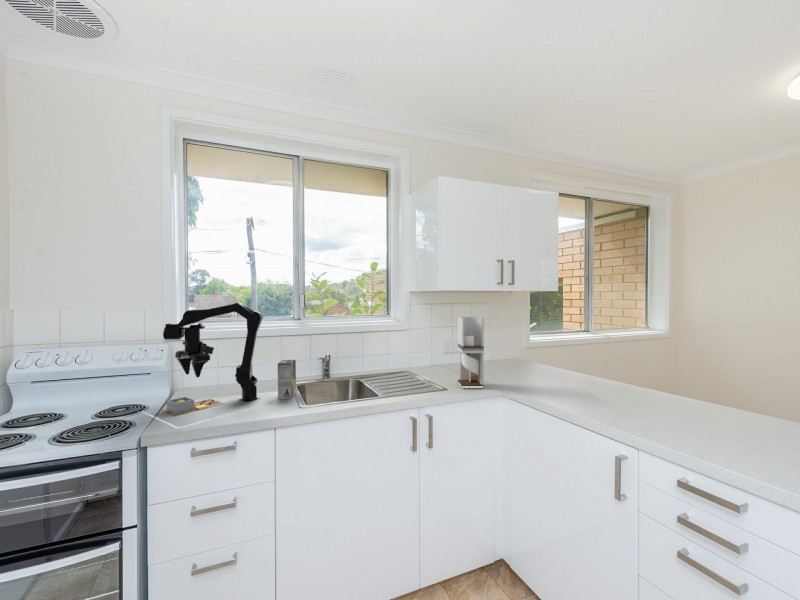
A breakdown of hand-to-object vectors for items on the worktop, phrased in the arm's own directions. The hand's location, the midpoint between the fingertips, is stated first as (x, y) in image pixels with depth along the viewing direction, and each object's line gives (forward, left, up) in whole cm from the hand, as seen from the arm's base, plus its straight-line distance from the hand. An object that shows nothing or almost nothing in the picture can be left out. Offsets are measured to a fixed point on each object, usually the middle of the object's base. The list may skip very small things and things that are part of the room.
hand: (192, 375), depth 159 cm
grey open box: (-7, +8, -12) cm, 16 cm away
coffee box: (-23, -31, -12) cm, 40 cm away
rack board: (-7, +3, -12) cm, 14 cm away
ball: (-7, +8, -11) cm, 16 cm away
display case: (-83, -98, -12) cm, 129 cm away
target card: (-11, +2, -12) cm, 16 cm away
